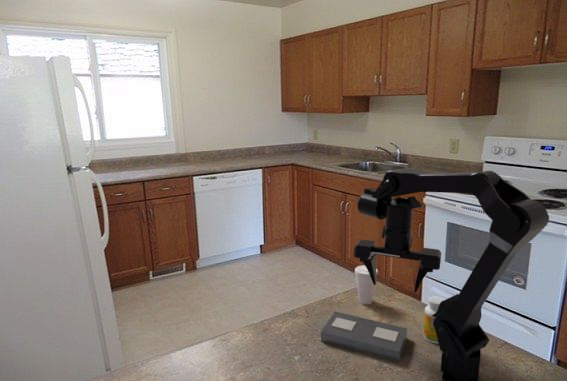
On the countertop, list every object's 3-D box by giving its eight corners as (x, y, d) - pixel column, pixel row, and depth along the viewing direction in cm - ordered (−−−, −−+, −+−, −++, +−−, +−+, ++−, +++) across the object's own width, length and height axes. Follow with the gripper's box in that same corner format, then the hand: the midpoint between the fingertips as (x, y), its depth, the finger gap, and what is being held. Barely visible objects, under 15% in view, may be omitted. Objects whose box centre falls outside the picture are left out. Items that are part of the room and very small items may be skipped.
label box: (406, 337, 90) (407, 327, 89) (398, 362, 81) (399, 350, 80) (334, 320, 98) (335, 310, 97) (320, 340, 89) (320, 330, 88)
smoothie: (374, 308, 103) (376, 260, 100) (351, 304, 106) (352, 257, 103) (378, 298, 109) (380, 252, 106) (356, 294, 111) (357, 249, 109)
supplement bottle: (422, 329, 93) (425, 293, 91) (446, 333, 91) (449, 296, 89) (423, 342, 88) (425, 303, 86) (448, 346, 86) (451, 307, 84)
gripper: (444, 219, 88) (439, 281, 91) (365, 211, 96) (363, 268, 99) (442, 233, 78) (436, 302, 81) (354, 223, 86) (352, 286, 89)
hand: (394, 288), depth 88 cm, fingers open, 9 cm apart
